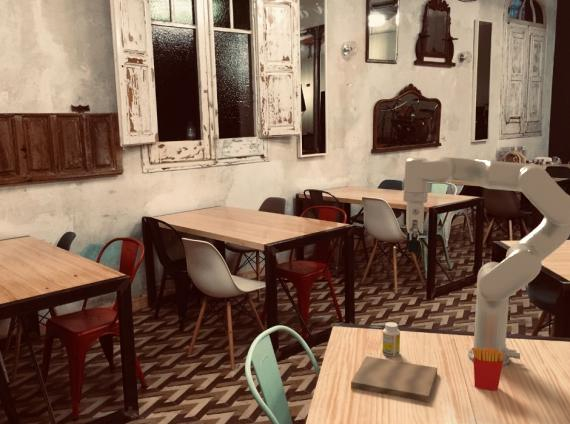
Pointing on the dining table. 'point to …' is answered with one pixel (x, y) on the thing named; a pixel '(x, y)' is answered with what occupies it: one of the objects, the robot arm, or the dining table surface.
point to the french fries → (487, 368)
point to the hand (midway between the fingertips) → (412, 248)
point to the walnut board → (395, 378)
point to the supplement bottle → (391, 339)
